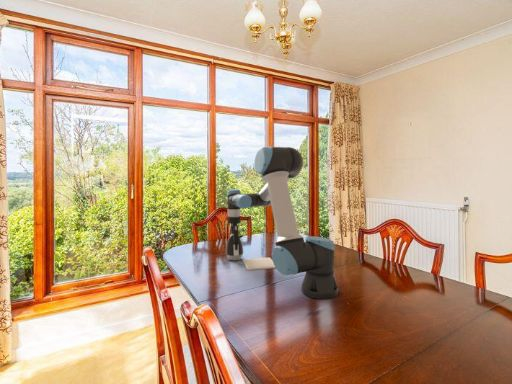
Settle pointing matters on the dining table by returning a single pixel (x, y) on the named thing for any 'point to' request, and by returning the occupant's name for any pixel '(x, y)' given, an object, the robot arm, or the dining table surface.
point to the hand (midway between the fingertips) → (234, 252)
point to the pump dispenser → (231, 248)
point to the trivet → (258, 263)
